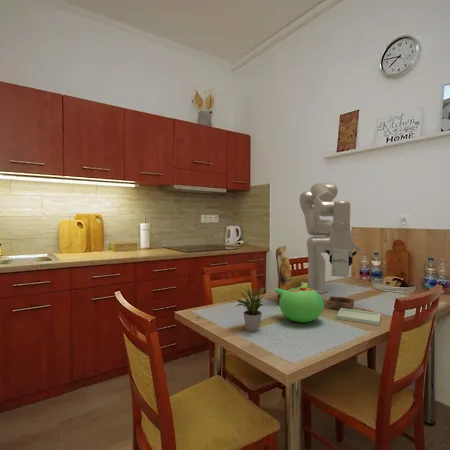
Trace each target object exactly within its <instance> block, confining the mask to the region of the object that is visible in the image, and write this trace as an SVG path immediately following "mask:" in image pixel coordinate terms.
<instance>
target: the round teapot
mask: <svg viewBox="0 0 450 450" xmlns="http://www.w3.org/2000/svg"><path fill="white" fill-rule="evenodd" d="M307 286H308V283H306V282H305V284H303V285H300V286H295V287H292V288H291V289H289V290H283V289H278V287H275V288H274V289H273V290H274V292H275V293H276V294H277V295H278V294H279V295H281V298H280V302H279V309H280V311H281V314H283V316H285V317H286V318H287V319H288V320H291V321H292V322H297V323H307V322H312V321H315V320H316V319H318V318H319V317H321V315H322V314H323V312H324V309H325V304H324V299H323V298H322V295H321V294H320V293H318V292H316V291H315V290H313V289H310V288H307Z"/></svg>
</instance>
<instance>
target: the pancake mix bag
mask: <svg viewBox="0 0 450 450" xmlns="http://www.w3.org/2000/svg"><path fill="white" fill-rule="evenodd" d="M288 255H289V254H288V252H287V246H286V245H283V246H278V248H277V249H275V259H276V269H277V270H276V271H277V276H278V278H277V283H278V284H277V288H278V289H283V290H289V289H291V288H293V284H292V283H293V281H292V271H291V263H290V259H289V256H288ZM280 298H281V295H279V294H278V293H277V305H279V302H280ZM279 306H280V305H279Z"/></svg>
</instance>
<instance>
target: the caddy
mask: <svg viewBox="0 0 450 450" xmlns="http://www.w3.org/2000/svg"><path fill="white" fill-rule="evenodd" d="M354 302H355V301H354V298H348V297H340V296H333V295H331V296H330V297H329V298H328V300H327V301H326V304H327V305H326V309H327V310H332V311H333V310H334V311H340V309H341V308H345V309H352V310H354V306H355V305H354Z"/></svg>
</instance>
